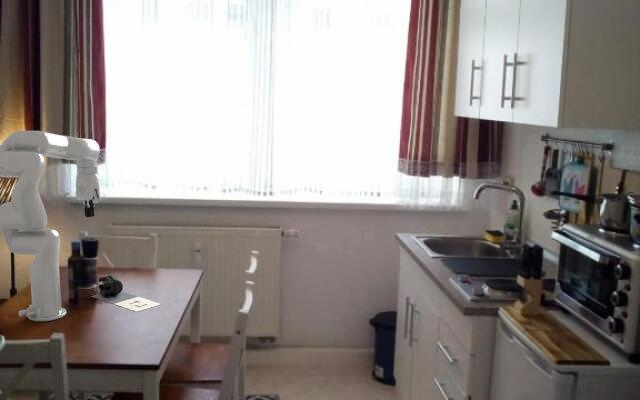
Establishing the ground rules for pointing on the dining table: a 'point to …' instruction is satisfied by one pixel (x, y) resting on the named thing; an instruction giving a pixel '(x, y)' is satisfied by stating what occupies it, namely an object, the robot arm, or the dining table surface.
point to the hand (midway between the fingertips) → (89, 216)
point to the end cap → (110, 286)
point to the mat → (116, 297)
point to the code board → (137, 304)
